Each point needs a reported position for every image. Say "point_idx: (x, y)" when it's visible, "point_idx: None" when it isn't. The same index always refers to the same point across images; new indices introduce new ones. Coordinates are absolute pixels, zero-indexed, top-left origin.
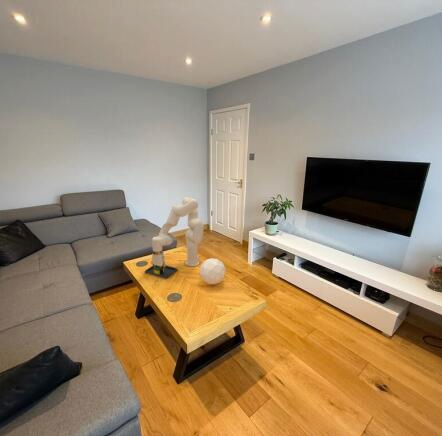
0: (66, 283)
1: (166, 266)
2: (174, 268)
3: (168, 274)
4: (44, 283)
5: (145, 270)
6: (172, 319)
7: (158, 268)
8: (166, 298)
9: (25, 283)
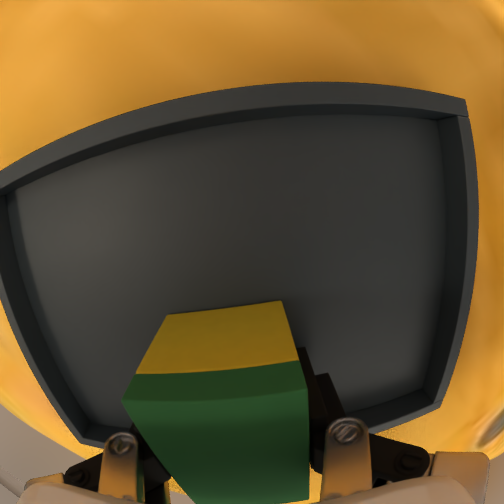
0: None
1: (186, 124)
2: (423, 111)
3: (449, 357)
4: (22, 492)
5: (75, 435)
6: (499, 452)
7: (275, 489)
8: (475, 449)
9: (12, 488)
